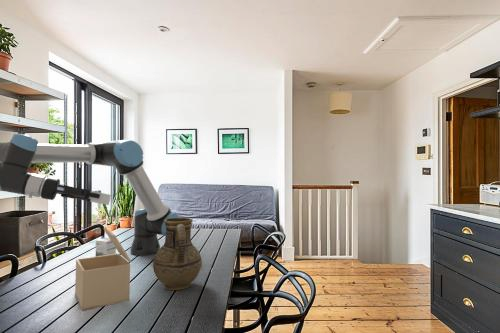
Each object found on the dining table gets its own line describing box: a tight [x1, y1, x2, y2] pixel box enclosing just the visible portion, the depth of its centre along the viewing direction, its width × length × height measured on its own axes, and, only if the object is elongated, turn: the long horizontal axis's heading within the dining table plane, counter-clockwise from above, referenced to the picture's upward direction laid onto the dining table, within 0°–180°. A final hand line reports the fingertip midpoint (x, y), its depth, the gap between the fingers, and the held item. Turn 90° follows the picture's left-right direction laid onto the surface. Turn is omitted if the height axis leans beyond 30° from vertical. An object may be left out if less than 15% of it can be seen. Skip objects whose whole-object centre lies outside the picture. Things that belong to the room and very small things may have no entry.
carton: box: [74, 253, 131, 312], centre depth 106 cm, size 16×14×12 cm
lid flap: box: [103, 227, 132, 263], centre depth 109 cm, size 15×11×1 cm
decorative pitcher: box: [152, 217, 203, 291], centre depth 117 cm, size 22×18×25 cm
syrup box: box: [95, 237, 117, 257], centre depth 130 cm, size 6×6×14 cm
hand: (109, 200), depth 114 cm, fingers open, 13 cm apart
